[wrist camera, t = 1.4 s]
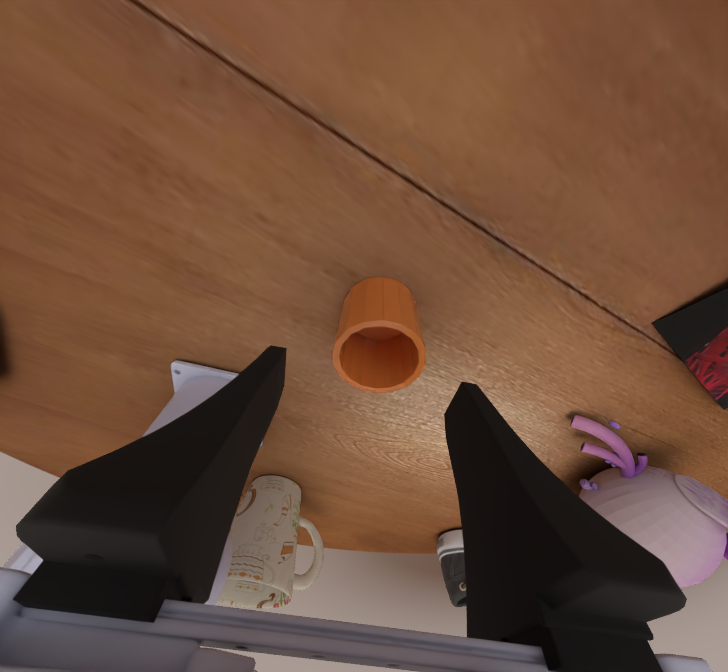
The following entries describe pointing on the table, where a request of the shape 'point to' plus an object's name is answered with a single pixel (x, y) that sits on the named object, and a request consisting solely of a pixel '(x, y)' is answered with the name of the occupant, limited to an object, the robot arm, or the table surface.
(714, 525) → the toy
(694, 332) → the fabric swatch
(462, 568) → the boat shoe
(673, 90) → the table surface
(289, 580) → the mug
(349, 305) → the cup
